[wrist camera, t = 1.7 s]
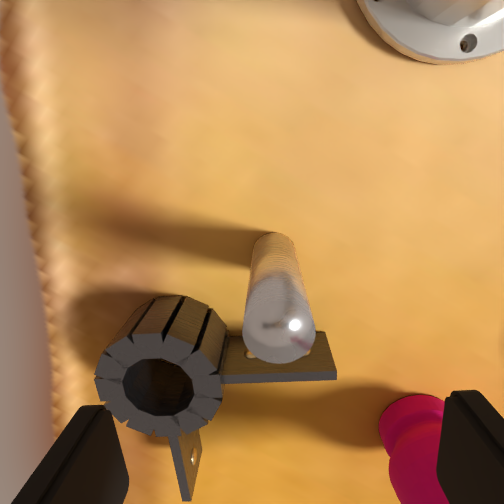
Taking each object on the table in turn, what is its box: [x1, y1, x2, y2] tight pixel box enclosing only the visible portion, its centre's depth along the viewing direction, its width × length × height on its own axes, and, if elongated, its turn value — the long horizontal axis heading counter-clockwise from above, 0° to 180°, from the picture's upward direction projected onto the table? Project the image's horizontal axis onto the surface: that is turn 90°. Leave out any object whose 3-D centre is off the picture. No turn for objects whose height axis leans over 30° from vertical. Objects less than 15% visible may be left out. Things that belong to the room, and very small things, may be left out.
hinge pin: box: [242, 233, 316, 364], centre depth 18 cm, size 3×3×10 cm
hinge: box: [94, 295, 337, 501], centre depth 24 cm, size 16×16×5 cm
